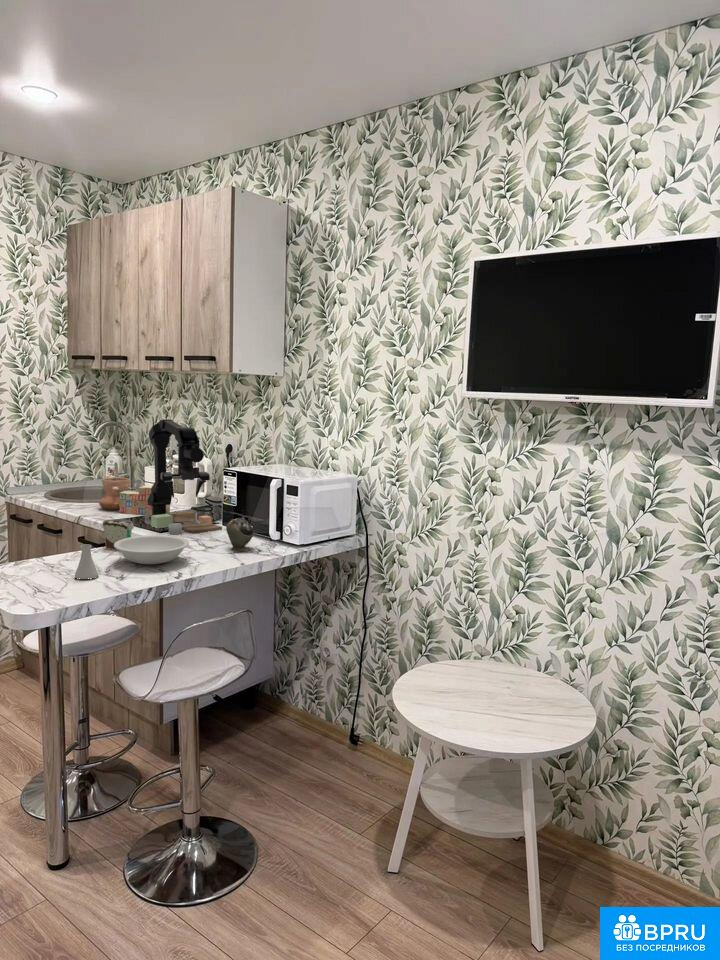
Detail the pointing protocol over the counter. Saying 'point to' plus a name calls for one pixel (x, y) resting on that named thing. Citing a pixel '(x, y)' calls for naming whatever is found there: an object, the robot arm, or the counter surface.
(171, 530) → the grey plastic cylinder
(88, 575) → the flask
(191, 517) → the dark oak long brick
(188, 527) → the walnut board
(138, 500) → the stack of blocks
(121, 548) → the soup bowl
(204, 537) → the counter surface
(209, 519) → the terracotta block
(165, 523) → the sage green brick
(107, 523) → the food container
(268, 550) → the counter surface
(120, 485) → the ceramic jug
